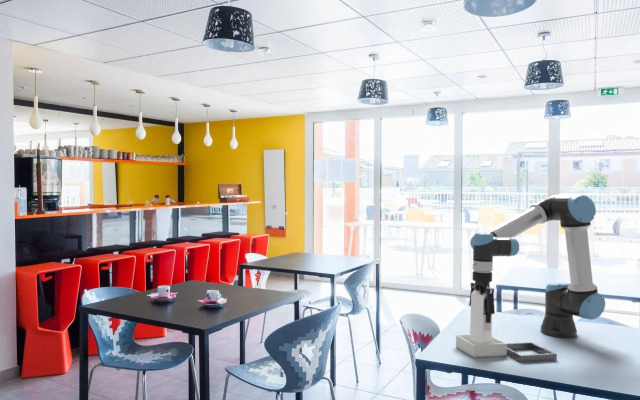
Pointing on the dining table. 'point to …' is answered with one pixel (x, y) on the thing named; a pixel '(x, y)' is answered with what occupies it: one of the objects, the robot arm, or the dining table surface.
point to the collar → (543, 356)
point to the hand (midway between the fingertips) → (480, 327)
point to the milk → (478, 319)
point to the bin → (481, 347)
